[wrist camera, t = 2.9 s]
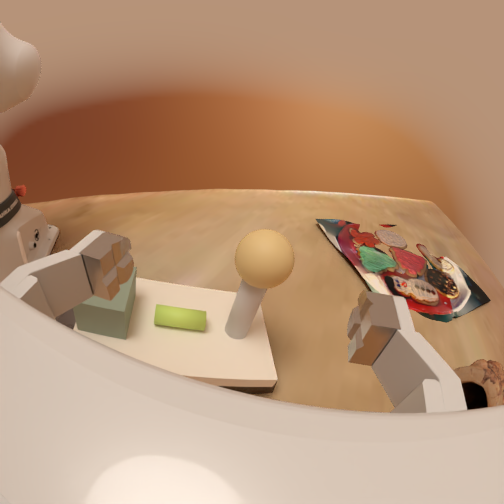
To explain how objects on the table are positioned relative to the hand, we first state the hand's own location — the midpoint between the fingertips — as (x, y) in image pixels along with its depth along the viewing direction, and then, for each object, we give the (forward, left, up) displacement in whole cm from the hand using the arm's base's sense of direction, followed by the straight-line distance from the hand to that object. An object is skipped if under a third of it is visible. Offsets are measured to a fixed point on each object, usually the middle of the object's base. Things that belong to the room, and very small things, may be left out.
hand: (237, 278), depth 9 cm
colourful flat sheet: (-30, +43, -23) cm, 58 cm away
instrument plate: (-12, -4, -17) cm, 21 cm away
